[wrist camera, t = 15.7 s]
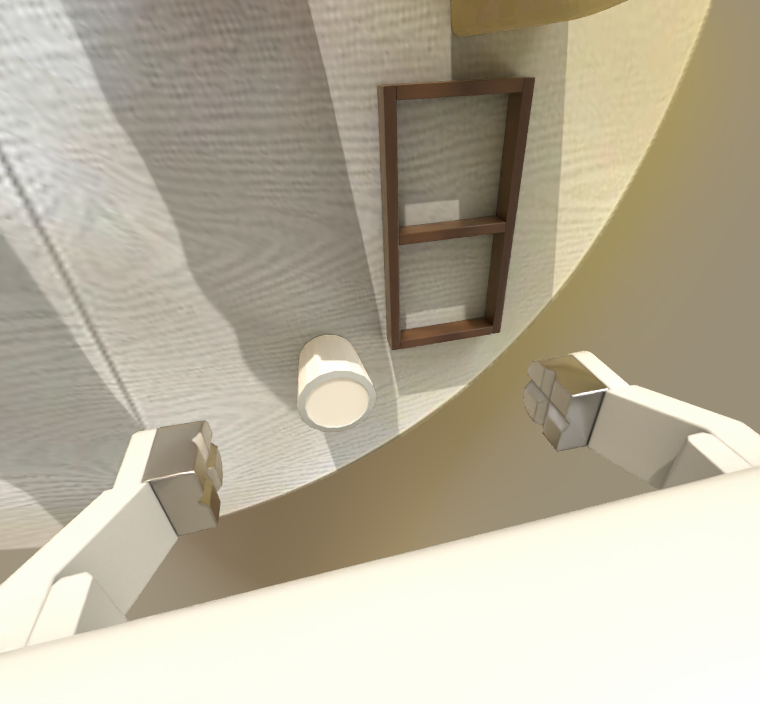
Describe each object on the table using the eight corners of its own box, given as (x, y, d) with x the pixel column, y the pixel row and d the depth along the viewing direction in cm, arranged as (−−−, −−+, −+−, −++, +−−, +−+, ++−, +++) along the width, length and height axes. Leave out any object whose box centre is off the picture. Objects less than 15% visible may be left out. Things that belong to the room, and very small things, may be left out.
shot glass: (375, 352, 43) (392, 395, 37) (330, 396, 45) (340, 443, 39) (324, 315, 39) (334, 357, 34) (277, 365, 41) (280, 412, 36)
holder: (386, 340, 43) (392, 350, 41) (377, 84, 30) (383, 86, 29) (491, 323, 44) (500, 332, 43) (521, 76, 32) (535, 76, 31)
